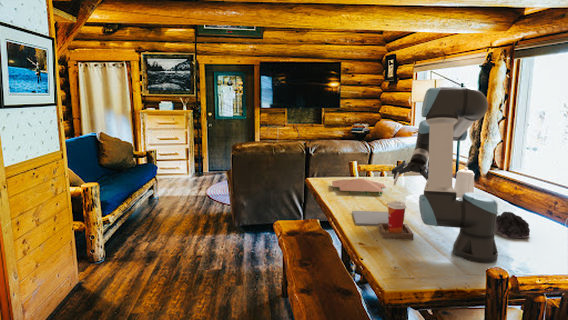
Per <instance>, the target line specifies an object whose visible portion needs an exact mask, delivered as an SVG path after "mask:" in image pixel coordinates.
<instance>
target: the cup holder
mask: <svg viewBox="0 0 568 320" xmlns="http://www.w3.org/2000/svg"><path fill="white" fill-rule="evenodd" d="M377 227H378V230H379V233H380V235H381V237H382V239H383V240H398V241H399V240H400V241H401V240H402V241H404V240H405V241H413V240H414V232H413V231H412V229H410V227H409V225H408V223H403V229H402V231H404V232H402V233H389V231H388V232H387V231H386V230H388V223H379V225H378V226H377Z"/></svg>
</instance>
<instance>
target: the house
mask: <svg viewBox="0 0 568 320" xmlns="http://www.w3.org/2000/svg"><path fill="white" fill-rule="evenodd" d="M331 183H332V185H331V186H332V187H333V190H335V189H336V188H338V190H339V191H340V192H341V191H342V192H345V191H346V192H347V191H348V192H349V193H351V192H361V193H365V195H366V196H368V193H369V195H373V194H374V193H375V196H376V197H377V196H378V193H379V192H380V193H379V195H380V196H382V193H384V190H383V189H386V188H387V186H386V185H385V184H384V183H383V182H382V183H381V182H378V181H374V180H369V179H364V178H354V179H337V180H332V181H331ZM334 188H335V189H334Z"/></svg>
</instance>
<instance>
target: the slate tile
mask: <svg viewBox="0 0 568 320" xmlns="http://www.w3.org/2000/svg"><path fill="white" fill-rule="evenodd" d="M352 216H353V220H354V223H355V225H356V226H367V227H368V226H370V227H371V226H372V227H374V226H375V227H378V225H379V223H388V211H377V210H376V211H374V210H352Z"/></svg>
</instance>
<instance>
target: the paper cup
mask: <svg viewBox="0 0 568 320" xmlns="http://www.w3.org/2000/svg"><path fill="white" fill-rule="evenodd" d="M387 207H388V208H387V212H388V229H387V230H388V233H403V230H402V229H403V224H404V223H405V222H404V219H405V214H406V213H405V212H406V209H407V206H406V203H405V202H402V201H396V200H391V201H389V202H388V204H387Z"/></svg>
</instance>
